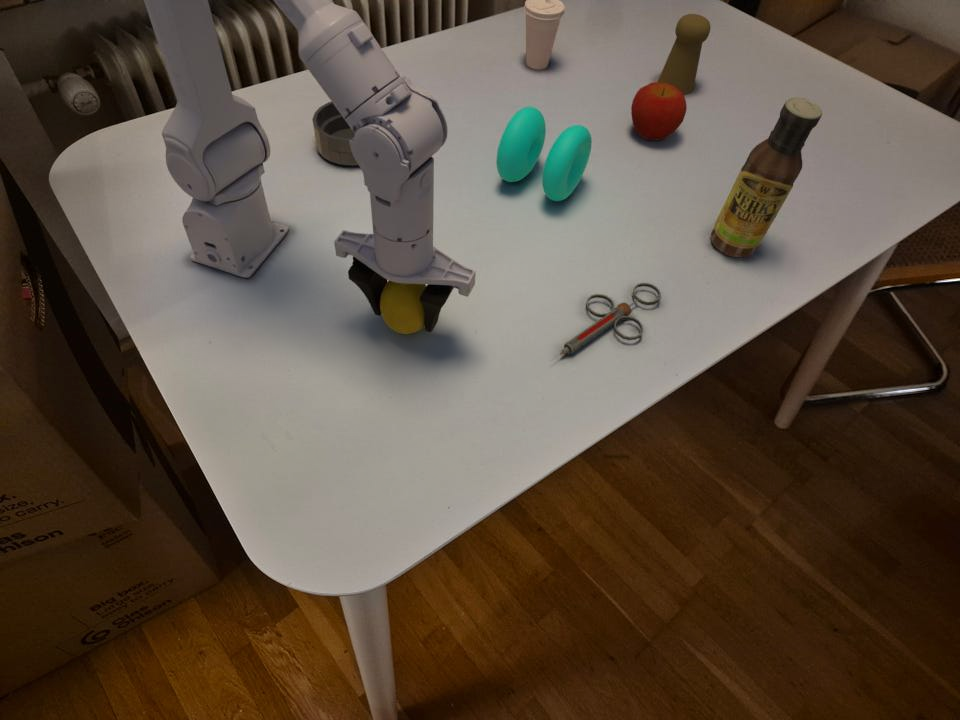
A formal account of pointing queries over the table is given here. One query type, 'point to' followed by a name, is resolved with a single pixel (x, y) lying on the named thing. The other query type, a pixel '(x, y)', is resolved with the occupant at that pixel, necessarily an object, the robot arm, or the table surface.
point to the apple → (658, 110)
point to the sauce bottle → (765, 181)
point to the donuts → (525, 148)
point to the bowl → (333, 135)
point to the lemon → (402, 306)
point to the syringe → (608, 320)
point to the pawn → (685, 53)
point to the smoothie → (541, 30)
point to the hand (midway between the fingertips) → (406, 317)
